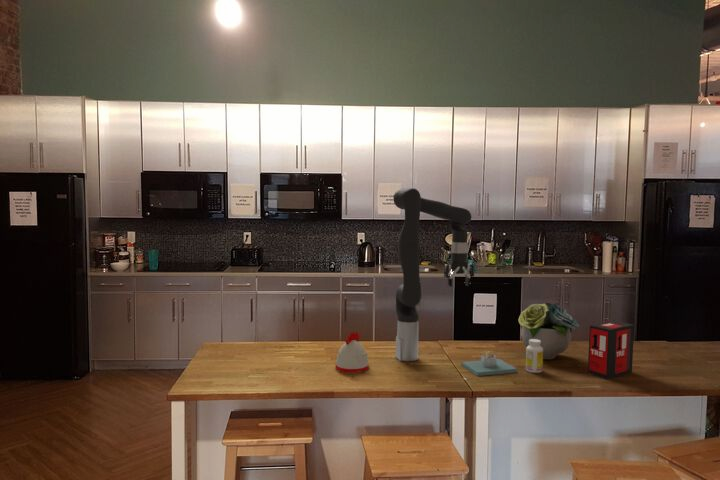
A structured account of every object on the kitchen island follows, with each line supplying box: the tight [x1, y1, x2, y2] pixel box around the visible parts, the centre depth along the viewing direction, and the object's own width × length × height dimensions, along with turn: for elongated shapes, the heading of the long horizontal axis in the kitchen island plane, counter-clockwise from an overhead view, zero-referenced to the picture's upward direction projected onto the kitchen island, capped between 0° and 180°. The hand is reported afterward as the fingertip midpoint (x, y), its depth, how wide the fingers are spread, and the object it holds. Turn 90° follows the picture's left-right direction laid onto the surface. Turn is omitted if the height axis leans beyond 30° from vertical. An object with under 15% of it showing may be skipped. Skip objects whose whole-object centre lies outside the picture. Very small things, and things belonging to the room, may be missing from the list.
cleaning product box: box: [587, 320, 635, 380], centre depth 220 cm, size 16×9×20 cm, turn 122°
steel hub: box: [480, 353, 498, 368], centre depth 224 cm, size 6×6×4 cm
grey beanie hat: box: [335, 331, 370, 373], centre depth 225 cm, size 14×14×15 cm
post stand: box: [461, 350, 518, 377], centre depth 224 cm, size 18×14×8 cm
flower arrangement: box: [518, 302, 580, 360], centre depth 241 cm, size 25×25×24 cm
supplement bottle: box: [525, 339, 544, 374], centre depth 222 cm, size 7×7×13 cm
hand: (458, 286), depth 251 cm, fingers open, 8 cm apart
